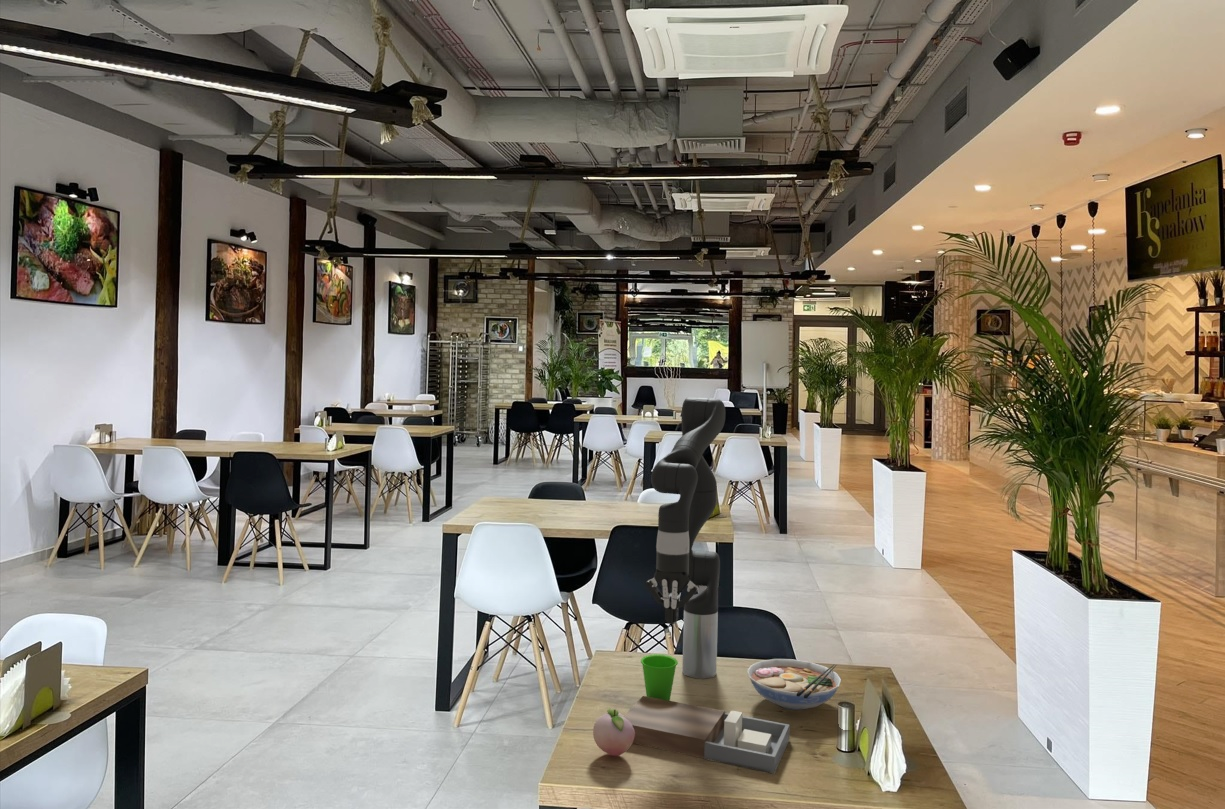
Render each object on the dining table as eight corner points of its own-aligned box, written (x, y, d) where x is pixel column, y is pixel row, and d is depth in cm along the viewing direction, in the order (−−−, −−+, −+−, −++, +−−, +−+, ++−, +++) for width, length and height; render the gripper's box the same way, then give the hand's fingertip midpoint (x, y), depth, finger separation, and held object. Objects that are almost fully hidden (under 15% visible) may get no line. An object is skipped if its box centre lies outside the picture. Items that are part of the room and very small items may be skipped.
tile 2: (771, 734, 174) (771, 745, 174) (744, 729, 176) (744, 740, 177) (765, 745, 169) (765, 757, 169) (737, 740, 171) (737, 751, 171)
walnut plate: (642, 712, 191) (643, 695, 191) (724, 728, 184) (724, 710, 183) (617, 739, 177) (617, 722, 176) (704, 758, 169) (705, 739, 169)
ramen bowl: (769, 678, 215) (770, 648, 214) (854, 699, 202) (855, 667, 201) (728, 709, 194) (729, 676, 194) (819, 735, 181) (821, 699, 181)
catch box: (724, 727, 184) (724, 712, 184) (789, 740, 178) (789, 724, 178) (704, 758, 169) (704, 742, 168) (774, 773, 163) (774, 756, 163)
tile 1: (731, 710, 178) (742, 712, 177) (730, 736, 178) (741, 739, 177) (724, 720, 172) (735, 723, 171) (723, 748, 172) (735, 750, 172)
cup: (633, 707, 194) (634, 663, 193) (649, 695, 202) (650, 652, 201) (667, 716, 189) (668, 670, 189) (682, 702, 197) (683, 658, 197)
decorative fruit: (586, 750, 171) (587, 704, 171) (620, 743, 175) (621, 698, 174) (603, 770, 163) (604, 721, 163) (639, 763, 166) (640, 715, 166)
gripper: (705, 548, 185) (703, 622, 186) (650, 543, 190) (649, 614, 191) (696, 556, 178) (694, 632, 179) (640, 549, 183) (639, 624, 184)
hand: (671, 623), depth 185 cm, fingers closed
